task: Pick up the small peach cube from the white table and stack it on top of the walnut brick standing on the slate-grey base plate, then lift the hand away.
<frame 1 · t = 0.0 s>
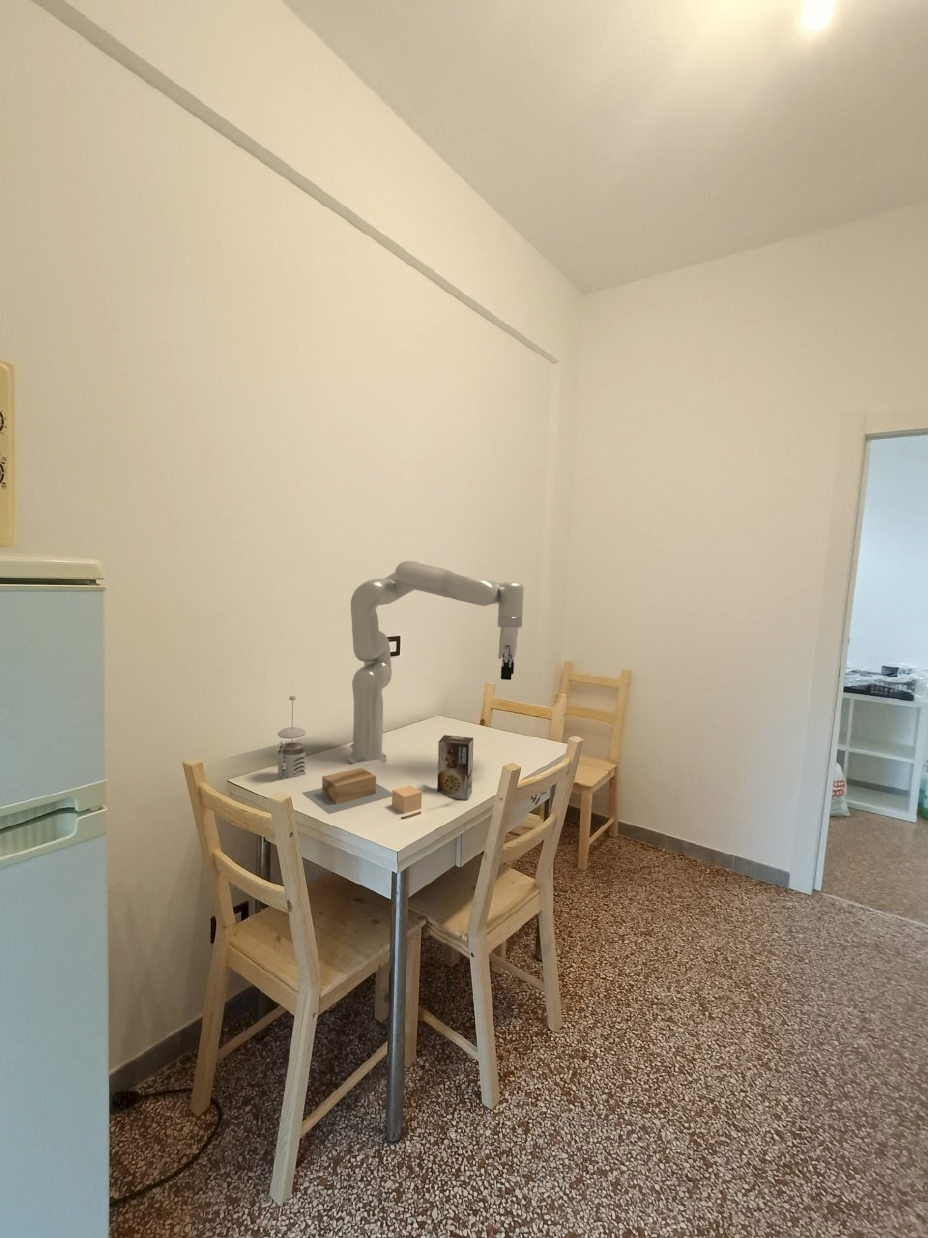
hand: (507, 676, 171), 31 cm above the table, tool pointing down, fingers open, 9 cm apart
walnut brick: (349, 794, 149), resting on base plate
french press: (289, 779, 162), on the table
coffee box: (454, 794, 156), on the table
base plate: (348, 799, 149), on the table
peach cube: (406, 813, 142), on the table
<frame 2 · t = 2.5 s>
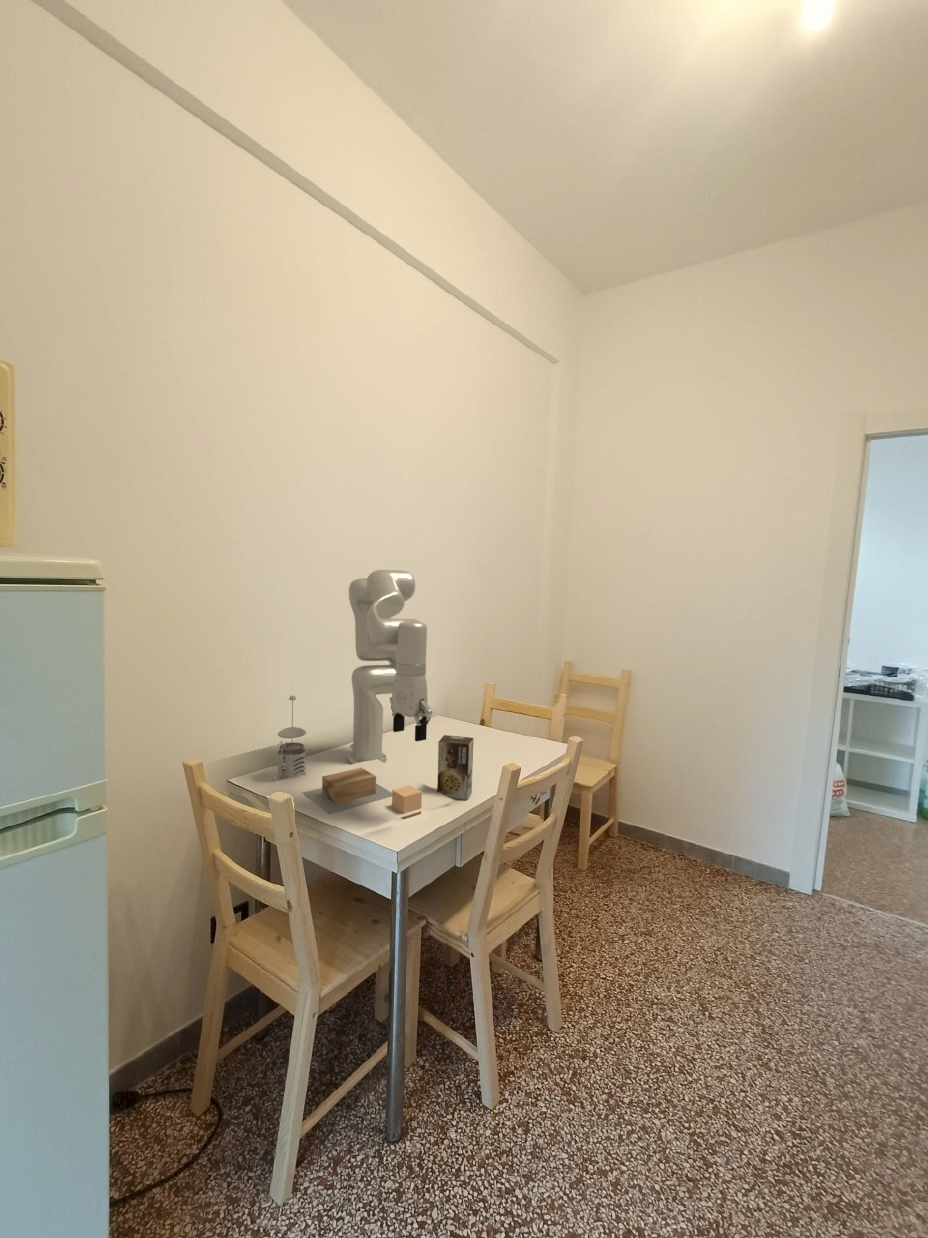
hand: (409, 735, 140), 21 cm above the table, tool pointing down, fingers open, 9 cm apart
nothing on the table moved.
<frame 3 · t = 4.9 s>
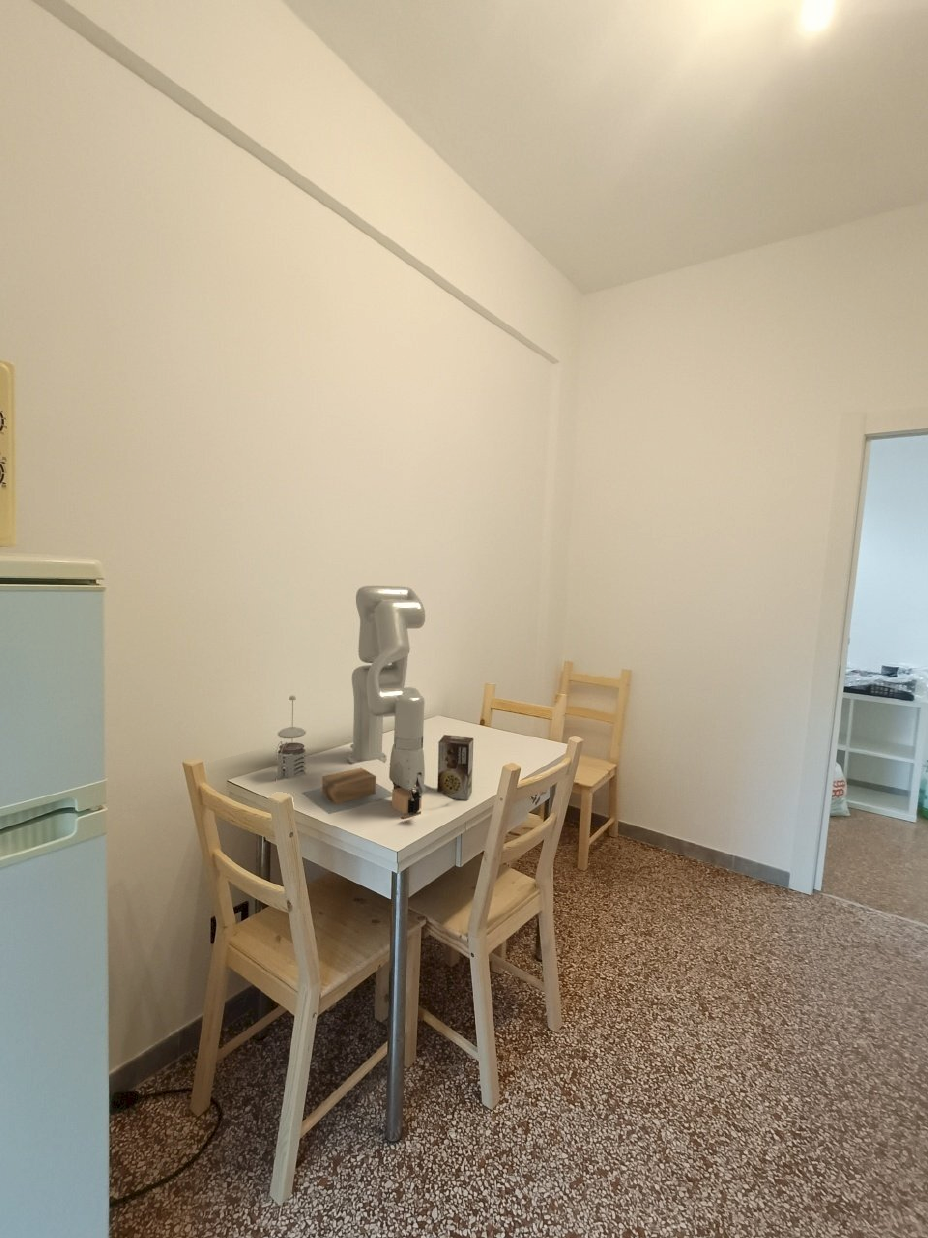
hand: (406, 808, 142), 1 cm above the table, tool pointing down, fingers closed on peach cube, 5 cm apart
peach cube: (406, 813, 142), on the table, touching gripper
everything else where it was.
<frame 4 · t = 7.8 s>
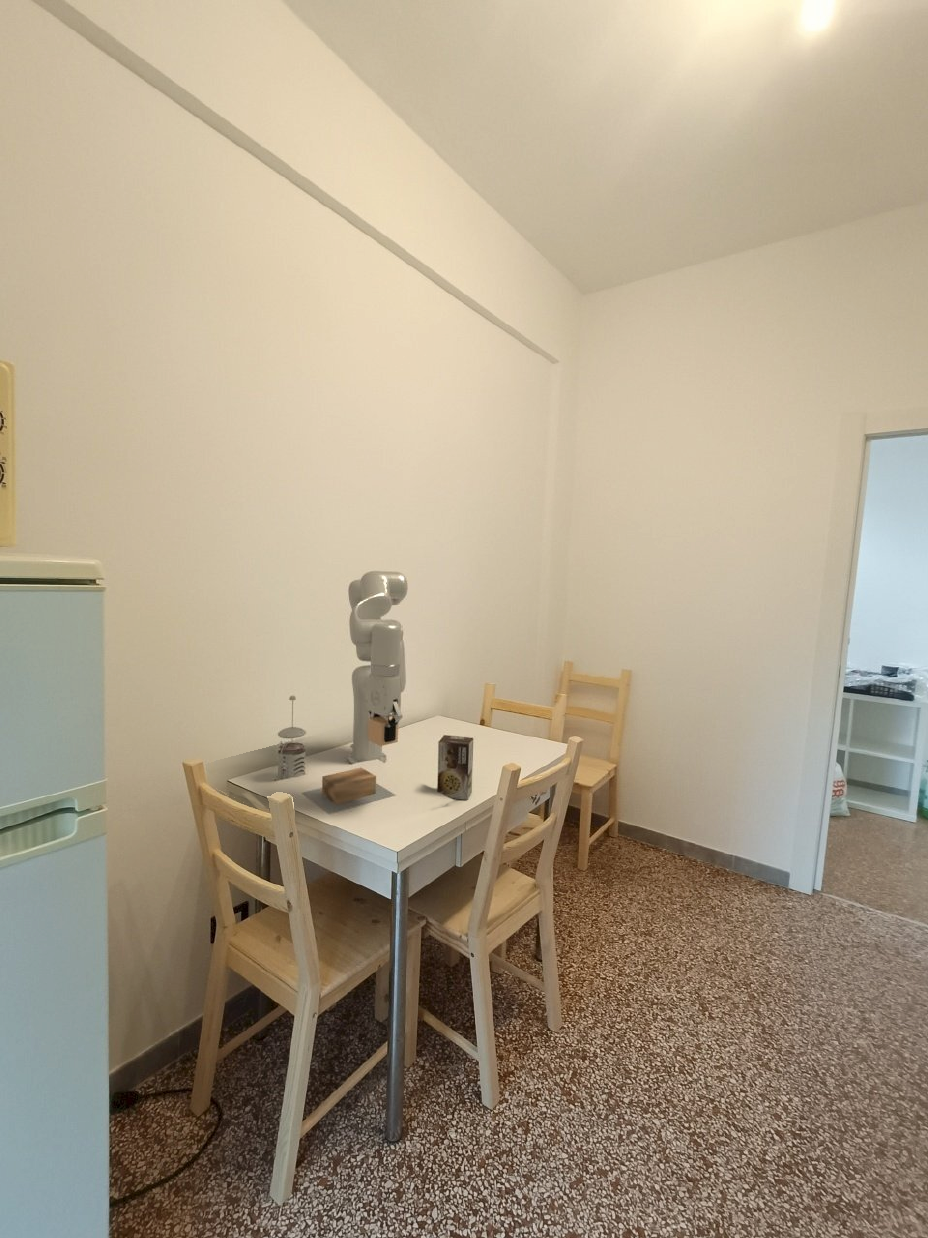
hand: (383, 737, 144), 19 cm above the table, tool pointing down, fingers closed on peach cube, 5 cm apart
peach cube: (383, 741, 144), point 18 cm above the table, touching gripper
everything else where it was.
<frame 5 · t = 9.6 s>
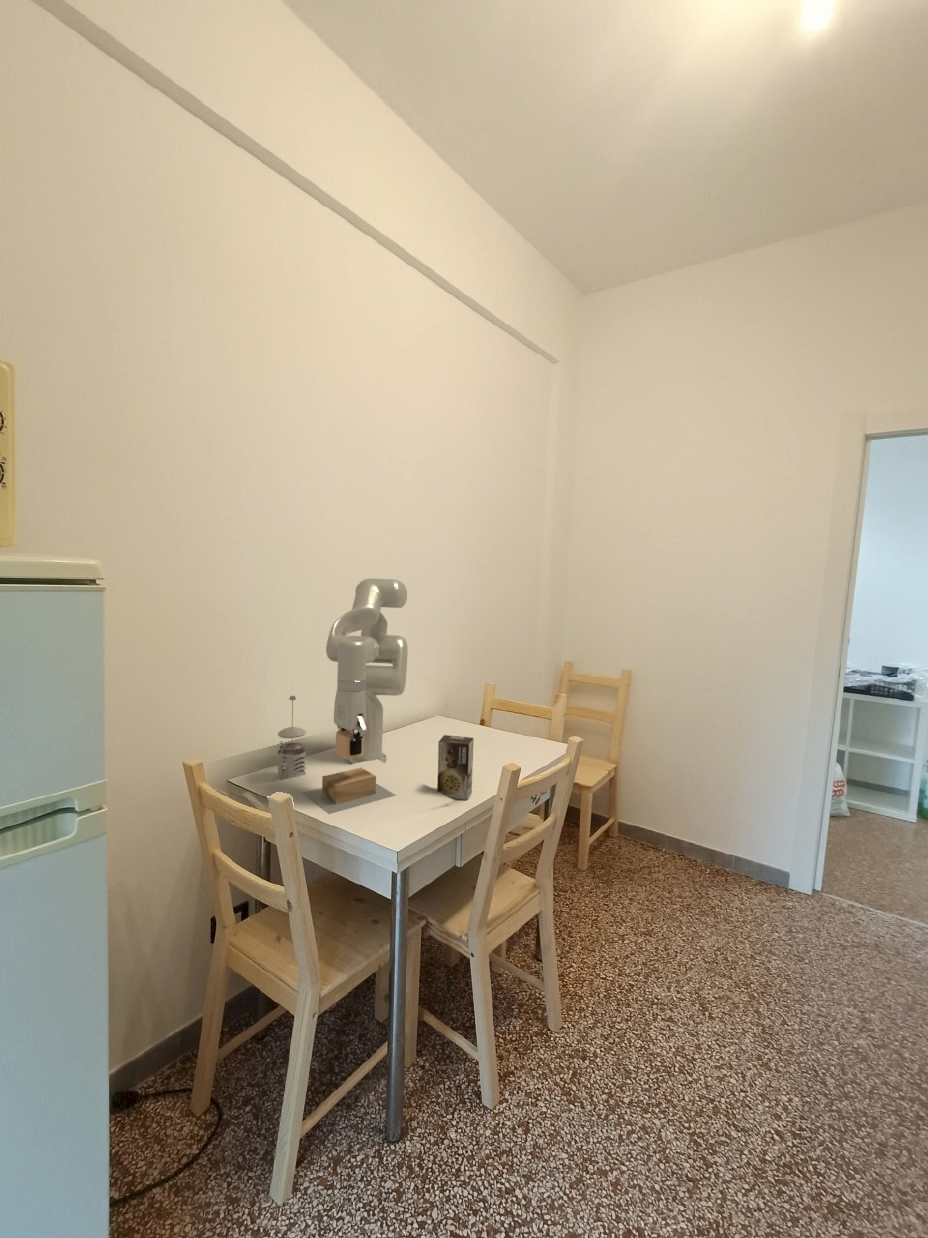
hand: (349, 750, 148), 14 cm above the table, tool pointing down, fingers closed on peach cube, 5 cm apart
peach cube: (349, 754, 148), point 13 cm above the table, touching gripper
everything else where it was.
when the fingers open (8 cm above the table, at t = 11.0 s): peach cube stays where it is, resting on walnut brick.
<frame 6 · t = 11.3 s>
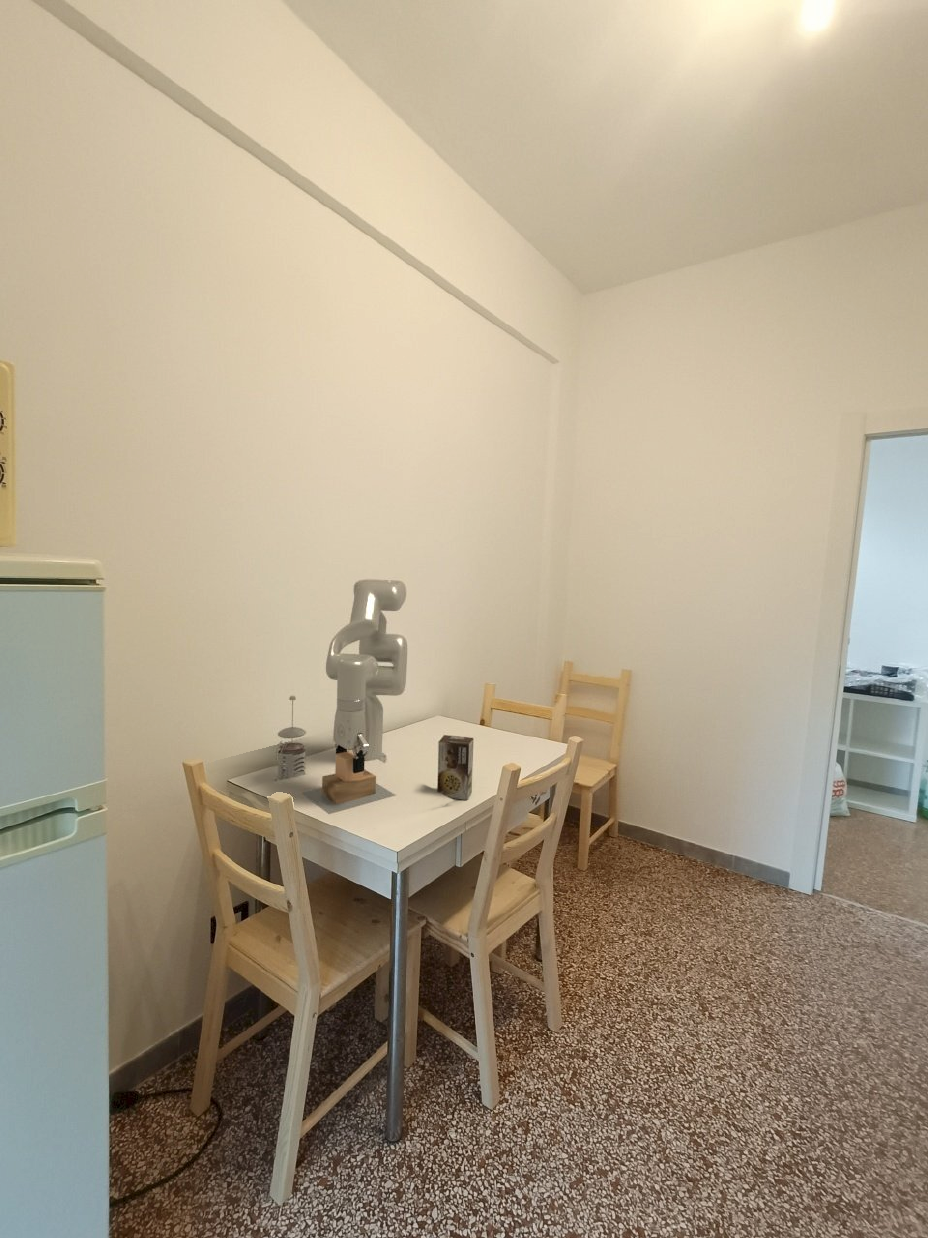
hand: (349, 766, 148), 9 cm above the table, tool pointing down, fingers open, 9 cm apart
peach cube: (349, 776, 149), point 6 cm above the table, touching walnut brick
everything else where it was.
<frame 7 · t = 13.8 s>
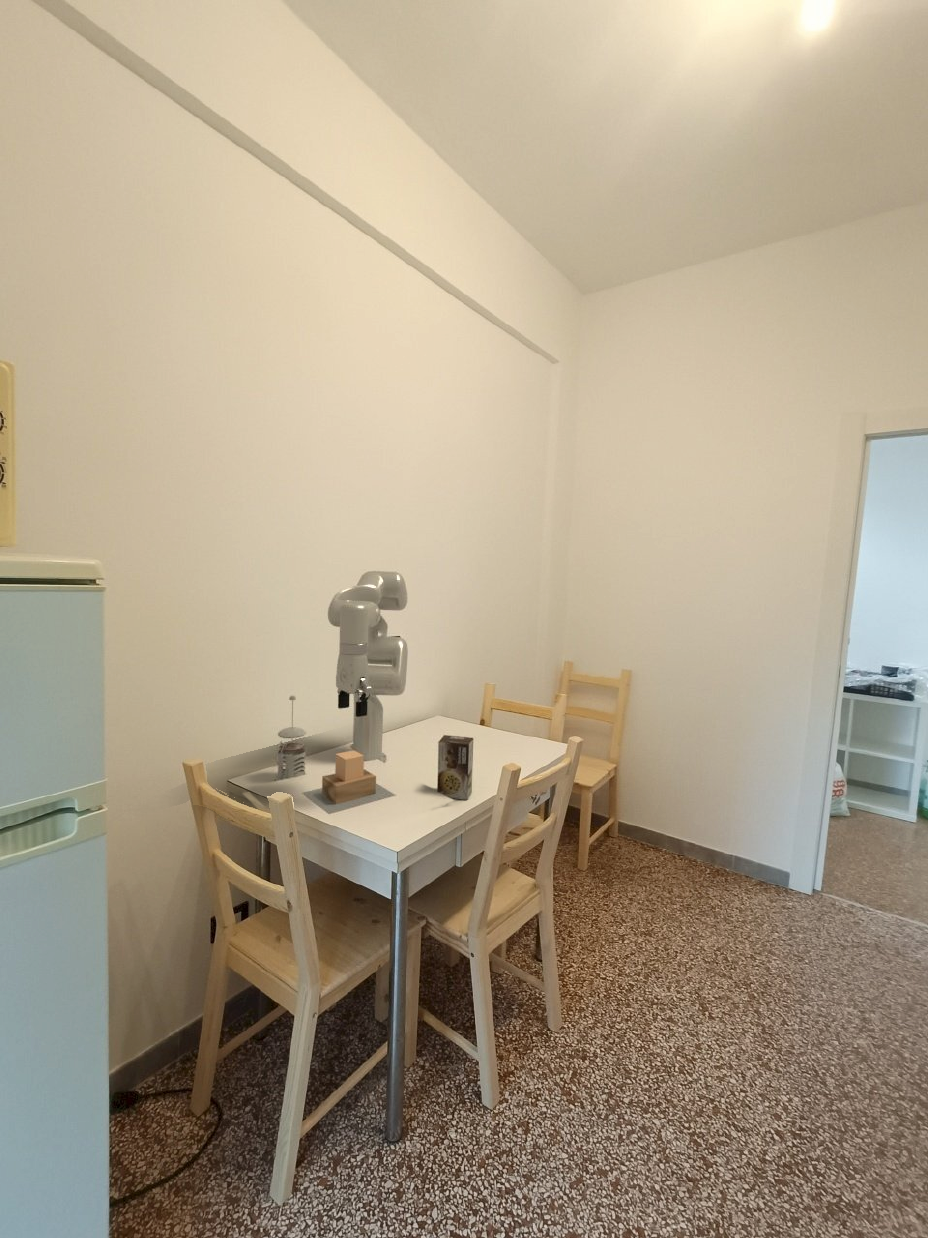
hand: (352, 711, 147), 24 cm above the table, tool pointing down, fingers open, 9 cm apart
nothing on the table moved.
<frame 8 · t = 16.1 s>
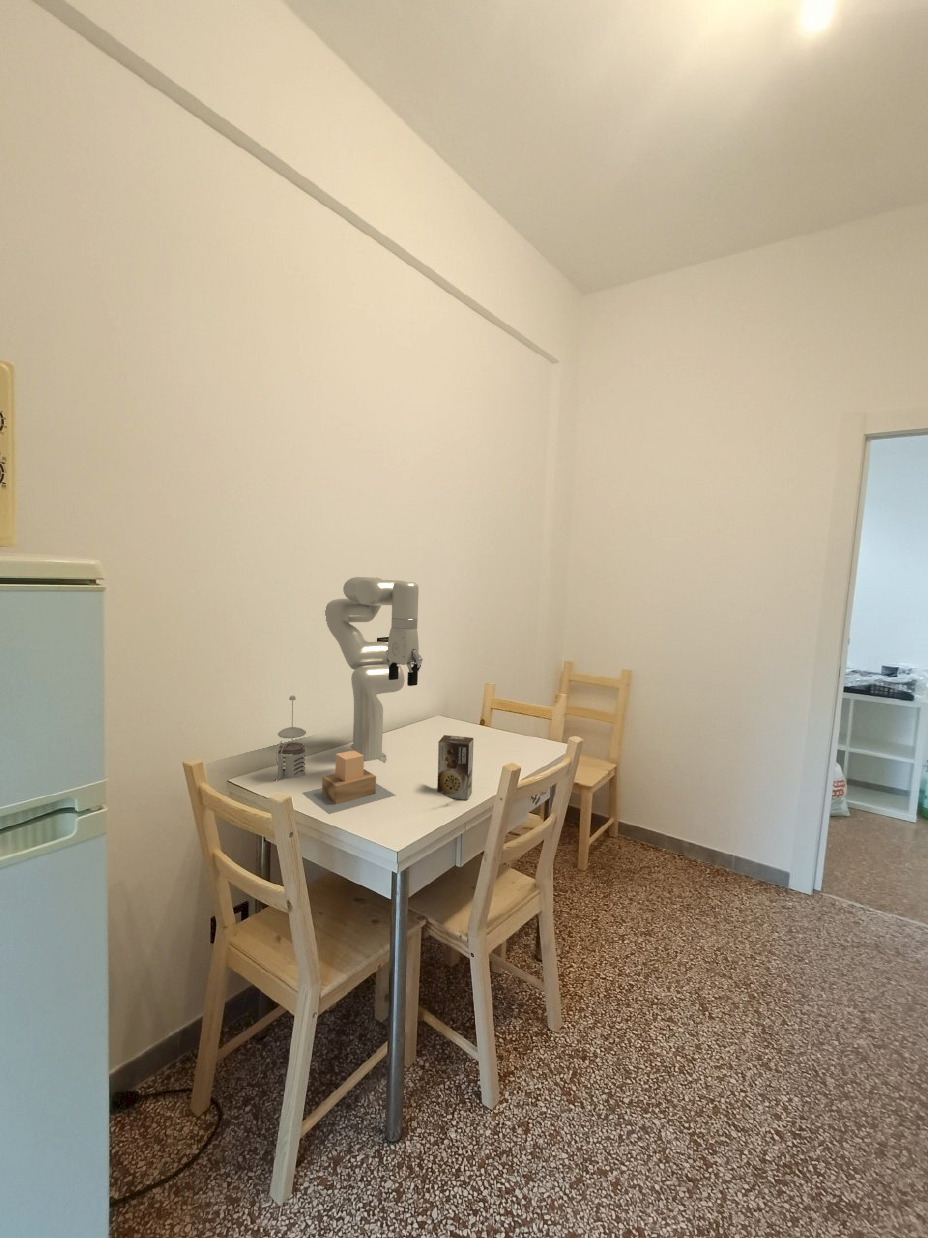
hand: (402, 682, 160), 30 cm above the table, tool pointing down, fingers open, 9 cm apart
nothing on the table moved.
at the end: peach cube 0.1 cm off-centre on the walnut brick, point 5.0 cm above the walnut brick's base; peach cube tilted 0°; the gripper is holding nothing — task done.
